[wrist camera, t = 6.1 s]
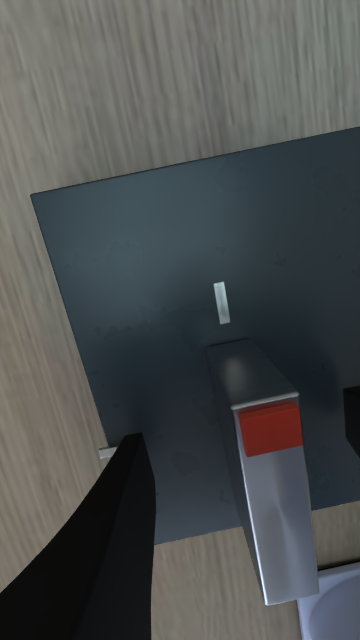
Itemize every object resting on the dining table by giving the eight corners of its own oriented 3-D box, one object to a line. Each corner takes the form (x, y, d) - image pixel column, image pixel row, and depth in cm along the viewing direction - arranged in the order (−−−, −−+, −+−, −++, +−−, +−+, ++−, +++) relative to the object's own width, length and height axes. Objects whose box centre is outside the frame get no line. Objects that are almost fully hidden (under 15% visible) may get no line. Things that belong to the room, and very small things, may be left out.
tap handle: (272, 486, 12) (325, 605, 8) (233, 495, 12) (268, 618, 8) (250, 336, 10) (306, 397, 6) (204, 346, 10) (232, 413, 6)
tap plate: (340, 453, 16) (384, 506, 13) (138, 497, 16) (134, 560, 12) (322, 150, 12) (379, 120, 9) (52, 206, 12) (14, 195, 9)
